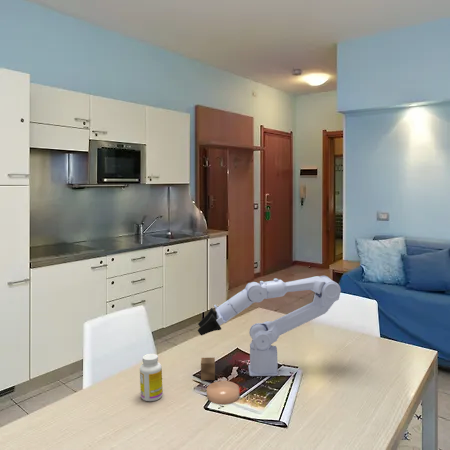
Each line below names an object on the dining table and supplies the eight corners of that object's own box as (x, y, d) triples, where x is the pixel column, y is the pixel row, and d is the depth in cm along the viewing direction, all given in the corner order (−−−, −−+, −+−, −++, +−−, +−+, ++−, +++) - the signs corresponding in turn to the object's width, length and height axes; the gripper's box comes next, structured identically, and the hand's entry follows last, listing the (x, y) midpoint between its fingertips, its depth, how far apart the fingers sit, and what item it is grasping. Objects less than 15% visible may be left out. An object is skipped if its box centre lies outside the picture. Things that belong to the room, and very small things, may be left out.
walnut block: (215, 374, 144) (214, 357, 143) (214, 380, 139) (214, 363, 138) (201, 374, 143) (201, 357, 143) (201, 380, 139) (200, 363, 138)
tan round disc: (238, 388, 134) (238, 380, 134) (239, 404, 124) (239, 396, 124) (207, 388, 134) (207, 381, 134) (206, 405, 124) (206, 397, 124)
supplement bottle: (166, 393, 131) (165, 353, 130) (156, 403, 125) (154, 362, 124) (147, 389, 133) (146, 351, 132) (136, 400, 127) (135, 359, 126)
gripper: (225, 293, 149) (193, 314, 149) (227, 301, 134) (192, 325, 134) (236, 309, 149) (204, 330, 149) (239, 319, 135) (204, 343, 135)
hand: (199, 329), depth 142 cm, fingers open, 7 cm apart
